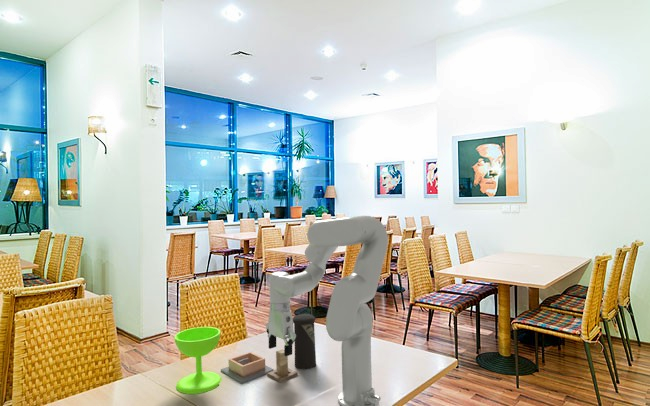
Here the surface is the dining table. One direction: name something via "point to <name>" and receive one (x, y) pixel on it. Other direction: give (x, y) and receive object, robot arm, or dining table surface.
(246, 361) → the grey base square tray
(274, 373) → the brown square tray
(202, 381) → the wineglass
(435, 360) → the dining table surface
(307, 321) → the container
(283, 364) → the tan wooden bar
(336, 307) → the robot arm
